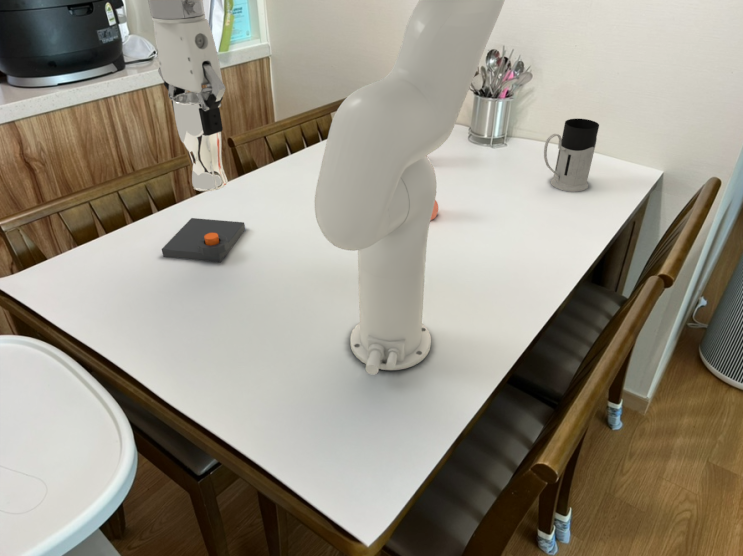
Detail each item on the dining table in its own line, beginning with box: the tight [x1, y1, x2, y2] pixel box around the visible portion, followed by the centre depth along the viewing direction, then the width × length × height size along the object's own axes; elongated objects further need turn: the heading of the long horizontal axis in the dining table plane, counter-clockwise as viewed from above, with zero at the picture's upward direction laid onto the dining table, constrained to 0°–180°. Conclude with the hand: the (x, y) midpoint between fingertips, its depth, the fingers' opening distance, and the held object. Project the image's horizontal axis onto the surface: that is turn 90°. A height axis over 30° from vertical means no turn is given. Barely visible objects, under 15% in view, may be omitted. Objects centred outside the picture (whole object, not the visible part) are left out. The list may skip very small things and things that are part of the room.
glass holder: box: [543, 118, 600, 193], centre depth 128 cm, size 9×14×15 cm, turn 116°
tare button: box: [204, 233, 219, 246], centre depth 105 cm, size 3×3×2 cm
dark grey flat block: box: [161, 217, 246, 263], centre depth 110 cm, size 14×13×4 cm
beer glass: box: [171, 91, 228, 192], centre depth 90 cm, size 7×7×15 cm
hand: (199, 127), depth 89 cm, fingers closed on beer glass, 7 cm apart
